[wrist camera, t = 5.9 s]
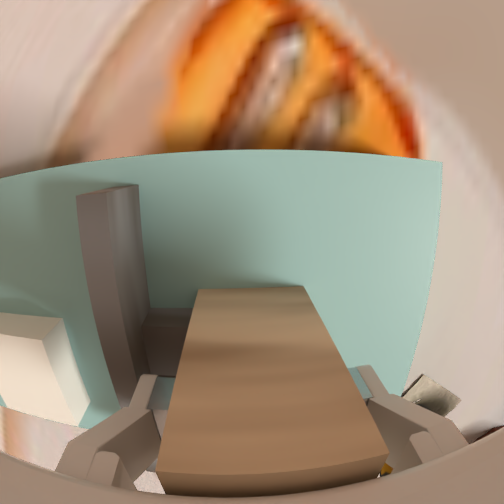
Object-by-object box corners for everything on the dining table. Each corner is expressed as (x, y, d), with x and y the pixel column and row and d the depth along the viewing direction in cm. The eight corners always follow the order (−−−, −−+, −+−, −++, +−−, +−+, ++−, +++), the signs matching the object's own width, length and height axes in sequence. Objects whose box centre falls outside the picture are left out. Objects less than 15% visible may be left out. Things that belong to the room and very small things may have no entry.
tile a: (90, 401, 13) (78, 426, 11) (22, 387, 13) (7, 407, 11) (62, 317, 12) (41, 340, 10) (-7, 311, 11) (-29, 328, 10)
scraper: (291, 427, 14) (320, 562, 6) (156, 427, 14) (129, 559, 6) (307, 180, 11) (455, 222, 3) (113, 186, 10) (-60, 239, 3)
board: (369, 380, 18) (392, 420, 15) (-37, 357, 17) (-60, 380, 13) (398, 160, 15) (442, 162, 11) (-76, 202, 13) (-109, 212, 9)
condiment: (345, 445, 20) (388, 566, 9) (422, 373, 19) (507, 488, 7) (393, 458, 22) (437, 552, 10) (459, 397, 20) (527, 486, 9)
